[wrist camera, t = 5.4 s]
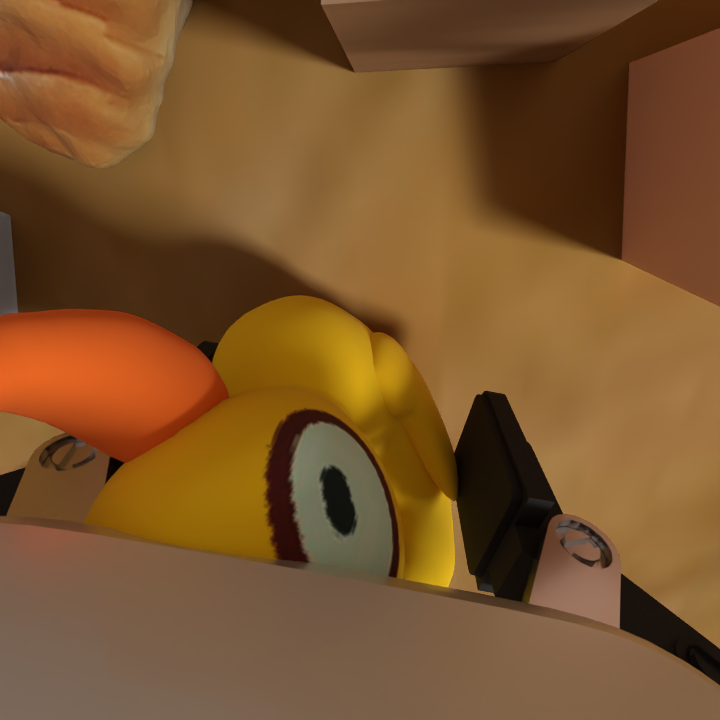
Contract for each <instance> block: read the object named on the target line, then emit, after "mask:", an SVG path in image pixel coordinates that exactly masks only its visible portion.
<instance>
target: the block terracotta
mask: <svg viewBox="0 0 720 720" xmlns="http://www.w3.org/2000/svg"><path fill="white" fill-rule="evenodd" d="M622 260H623V261H625V262H627V263H629V264H631V265H633V266H635V267H637V268H640V269H642V270H644V271H646V272H648V273H650V274H652V275H654V276H656V277H659V278H661V279H663V280H665V281H667V282H669V283H671V284H673V285H676V286H678V287H680V288H682V289H684V290H686V291H688V292H690V293H692V294H695V295H697V296H699V297H701V298H703V299H705V300H707V301H709V302H712V303H714V304H716V305H718V306H720V28H718V29H716V30H713V31H711V32H708V33H705V34H703V35H700V36H698V37H695V38H693V39H690V40H687V41H685V42H682V43H680V44H677V45H674V46H672V47H669V48H667V49H664V50H662V51H659V52H656V53H654V54H651V55H649V56H646V57H643V58H641V59H638V60H636V61H633V62H631V63H629V84H628V109H627V134H626V160H625V185H624V210H623V236H622Z"/></svg>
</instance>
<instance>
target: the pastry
mask: <svg viewBox="0 0 720 720" xmlns="http://www.w3.org/2000/svg"><path fill="white" fill-rule="evenodd" d="M191 7H192V0H0V119H2V120H3V121H4V122H5V123H7V124H8V125H9V126H10V127H12V128H13V129H14V130H16V131H17V132H18V133H20V134H21V135H22V136H24V137H25V138H26V139H27V140H29V141H31V142H33V143H35V144H37V145H40V146H42V147H44V148H46V149H47V150H49V151H51V152H54V153H56V154H59V155H62V156H64V157H67V158H69V159H72V160H76V161H77V162H78V163H80V164H82V165H84V166H87V167H91V168H99V169H106V168H110V167H113V166H115V165H116V164H118V163H119V162H121V161H122V160H123V159H124V158H125V157H127V156H128V155H130V154H131V153H133V152H134V151H135V150H137V149H138V148H140V147H141V146H143V145H144V144H145V143H146V142H148V141H149V140H150V139H151V138H152V137H153V135H154V132H155V126H156V122H157V117H158V109H159V107H160V105H161V103H162V100H163V89H164V85H165V81H166V78H167V76H168V74H169V72H170V70H171V68H172V65H173V61H174V54H175V47H176V43H177V39H178V36H179V34H180V32H181V30H182V29H183V27H184V25H185V22H186V20H187V17H188V14H189V12H190V10H191Z"/></svg>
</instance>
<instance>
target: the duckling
mask: <svg viewBox="0 0 720 720" xmlns="http://www.w3.org/2000/svg"><path fill="white" fill-rule="evenodd" d="M0 412H8V413H12V414H16V415H21V416H25V417H28V418H32V419H35V420H38V421H41V422H45V423H47V424H49V425H52V426H54V427H56V428H58V429H60V430H62V431H64V432H66V433H68V434H70V435H72V436H74V437H75V438H77V439H79V440H81V441H83V442H85V443H87V444H89V445H91V446H92V447H94V448H96V449H97V450H99V451H101V452H103V453H104V454H106V455H108V456H111V457H113V458H115V459H118V460H120V461H122V462H125V463H124V464H123V465H122V466H121V467H120V468H119V469H118V470H117V471H116V472H115V474H114V475H112V477H111V478H110V479H109V480H108V482H107V483H106V484H105V485H104V487H103V488H102V490H101V491H100V493H99V494H98V496H97V498H96V499H95V501H94V503H93V505H92V506H91V508H90V510H89V512H88V514H87V517H86V519H85V522H84V523H86V524H92V525H98V526H105V527H110V528H113V529H116V530H119V531H122V532H125V533H128V534H132V535H136V536H139V537H142V538H146V539H150V540H154V541H158V542H163V543H168V544H173V545H178V546H184V547H190V548H196V549H203V550H209V551H215V552H221V553H228V554H235V555H242V556H250V557H259V558H268V559H277V560H287V561H299V562H312V563H317V564H323V565H328V566H334V567H339V568H345V569H350V570H356V571H361V572H367V573H372V574H378V575H383V576H388V577H394V578H399V579H405V580H410V581H415V582H421V583H426V584H431V585H437V586H442V587H447V588H448V586H449V583H450V581H451V578H452V575H453V571H454V565H455V548H454V534H453V521H452V511H451V500H453V501H455V500H456V499H457V496H458V472H457V465H456V460H455V455H454V452H453V448H452V445H451V442H450V439H449V436H448V433H447V431H446V428H445V425H444V423H443V420H442V418H441V415H440V413H439V411H438V409H437V406H436V404H435V402H434V400H433V398H432V396H431V393H430V391H429V389H428V387H427V385H426V383H425V381H424V379H423V377H422V376H421V374H420V372H419V371H418V369H417V368H416V367H415V365H414V364H413V362H412V361H411V359H410V358H409V356H408V355H407V353H406V352H405V351H404V349H403V348H402V347H401V346H400V344H399V343H398V342H397V341H396V340H394V339H393V338H392V337H390V336H389V335H387V334H385V333H382V332H375V333H373V332H372V331H371V330H370V329H369V328H368V327H367V326H366V325H364V324H363V323H362V322H361V321H359V320H358V319H357V318H355V317H354V316H352V315H351V314H349V313H348V312H346V311H345V310H343V309H341V308H340V307H338V306H336V305H334V304H332V303H330V302H328V301H325V300H323V299H319V298H316V297H311V296H303V295H295V296H287V297H283V298H279V299H276V300H273V301H270V302H268V303H265V304H263V305H261V306H259V307H257V308H255V309H253V310H251V311H249V312H248V313H246V314H244V315H243V316H242V317H240V318H239V319H238V320H237V321H236V322H234V323H233V324H232V325H231V326H230V328H229V329H228V330H227V331H226V333H225V334H224V336H223V337H222V339H221V341H220V342H219V344H218V346H217V349H216V351H215V354H214V357H213V361H212V363H211V361H210V360H209V359H208V358H207V357H206V356H205V355H204V353H203V352H202V351H200V350H199V349H198V348H197V347H196V346H194V345H193V344H191V343H190V342H188V341H186V340H185V339H183V338H181V337H179V336H178V335H176V334H174V333H172V332H170V331H168V330H166V329H164V328H162V327H160V326H159V325H157V324H155V323H152V322H150V321H148V320H146V319H144V318H141V317H138V316H136V315H132V314H129V313H125V312H120V311H112V310H96V309H56V310H46V311H37V312H23V313H12V314H6V315H1V316H0Z"/></svg>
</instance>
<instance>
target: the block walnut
mask: <svg viewBox="0 0 720 720" xmlns="http://www.w3.org/2000/svg"><path fill="white" fill-rule="evenodd" d="M657 1H659V0H321V6H322V8H323V10H324V12H325V14H326V16H327V18H328V20H329V22H330V24H331V26H332V28H333V30H334V32H335V34H336V36H337V38H338V40H339V42H340V44H341V46H342V48H343V50H344V52H345V54H346V56H347V58H348V60H349V62H350V64H351V66H352V68H353V70H354V72H374V71H392V70H411V69H429V68H448V67H466V66H484V65H503V64H521V63H540V62H555V61H557V60H559V59H560V58H562V57H564V56H565V55H567V54H569V53H570V52H572V51H574V50H576V49H577V48H579V47H581V46H582V45H584V44H586V43H587V42H589V41H591V40H593V39H594V38H596V37H598V36H599V35H601V34H603V33H604V32H606V31H608V30H610V29H611V28H613V27H615V26H616V25H618V24H620V23H621V22H623V21H625V20H627V19H628V18H630V17H632V16H633V15H635V14H637V13H638V12H640V11H642V10H644V9H645V8H647V7H649V6H650V5H652V4H654V3H655V2H657Z"/></svg>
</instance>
